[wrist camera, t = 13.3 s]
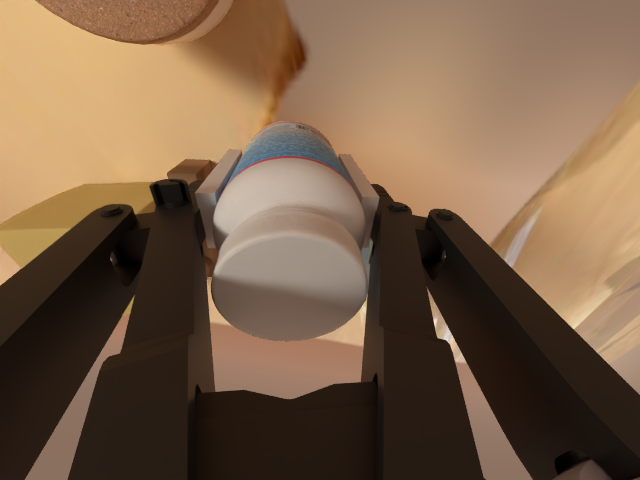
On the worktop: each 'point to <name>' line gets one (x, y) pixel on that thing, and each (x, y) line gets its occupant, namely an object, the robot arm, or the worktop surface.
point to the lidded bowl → (142, 18)
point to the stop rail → (189, 173)
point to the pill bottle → (289, 238)
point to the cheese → (67, 217)
